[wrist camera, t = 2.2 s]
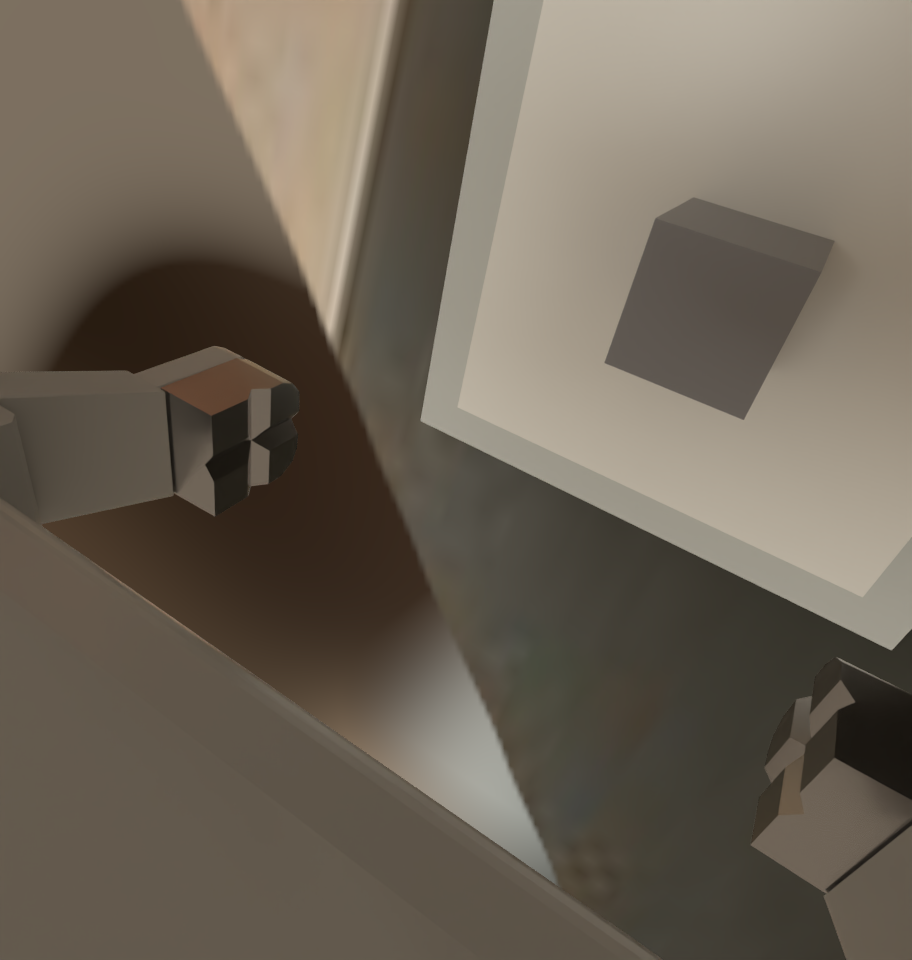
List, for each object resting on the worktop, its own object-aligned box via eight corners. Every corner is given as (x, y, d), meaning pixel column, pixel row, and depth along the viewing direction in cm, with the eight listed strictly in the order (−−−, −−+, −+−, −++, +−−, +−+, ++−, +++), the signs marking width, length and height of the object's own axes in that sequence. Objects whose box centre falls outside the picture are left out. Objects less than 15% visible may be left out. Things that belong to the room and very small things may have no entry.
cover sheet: (576, -99, 18) (496, -145, 14) (1309, 25, 13) (1464, 3, 9) (466, 400, 27) (402, 447, 24) (863, 584, 22) (856, 677, 19)
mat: (545, -198, 18) (530, -210, 17) (1528, -80, 12) (1571, -91, 11) (432, 412, 30) (420, 420, 29) (891, 632, 24) (891, 650, 23)
